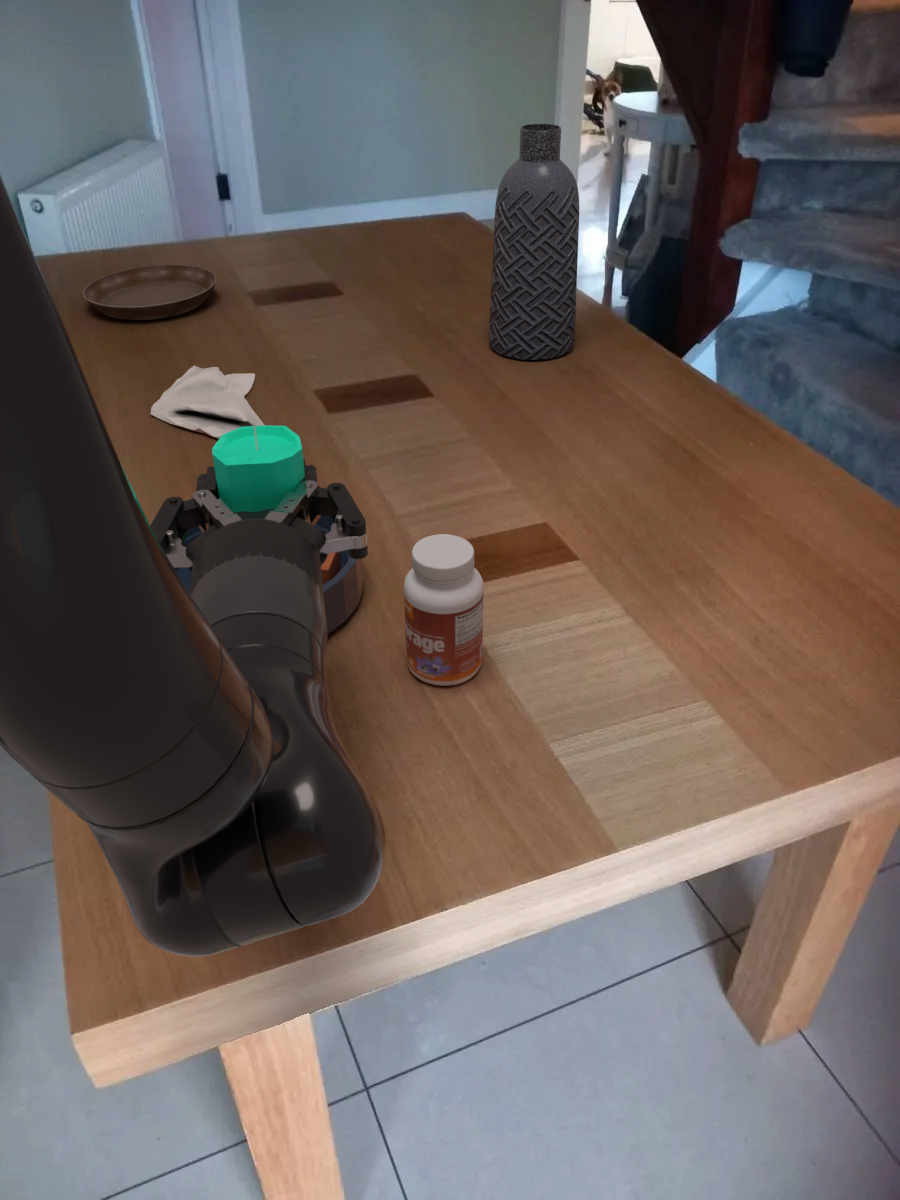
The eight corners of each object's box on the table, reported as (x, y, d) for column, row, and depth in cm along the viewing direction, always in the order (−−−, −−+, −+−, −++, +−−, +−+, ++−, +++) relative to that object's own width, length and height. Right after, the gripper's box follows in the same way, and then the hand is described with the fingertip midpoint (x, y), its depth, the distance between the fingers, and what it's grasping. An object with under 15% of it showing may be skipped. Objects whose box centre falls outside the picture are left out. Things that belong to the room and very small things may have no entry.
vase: (487, 361, 127) (490, 136, 110) (489, 330, 137) (493, 118, 120) (575, 363, 126) (592, 136, 110) (571, 331, 136) (586, 118, 119)
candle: (268, 546, 70) (249, 397, 63) (331, 568, 68) (318, 416, 61) (213, 583, 66) (187, 428, 59) (278, 608, 63) (258, 449, 57)
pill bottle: (391, 662, 75) (383, 549, 69) (446, 630, 79) (444, 519, 72) (442, 700, 72) (439, 583, 65) (498, 664, 75) (501, 550, 68)
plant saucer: (79, 331, 138) (74, 309, 136) (94, 289, 155) (89, 269, 153) (219, 320, 141) (215, 299, 139) (219, 280, 158) (216, 260, 156)
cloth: (155, 373, 125) (151, 357, 124) (257, 364, 127) (255, 348, 126) (147, 460, 104) (143, 442, 103) (269, 447, 107) (266, 429, 105)
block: (288, 604, 81) (282, 566, 79) (300, 578, 84) (295, 541, 82) (332, 607, 80) (328, 569, 78) (342, 581, 84) (339, 544, 81)
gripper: (382, 546, 50) (356, 416, 63) (108, 572, 48) (142, 433, 62) (389, 653, 54) (363, 511, 68) (138, 681, 52) (163, 529, 66)
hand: (258, 475), depth 65 cm, fingers closed on candle, 5 cm apart
